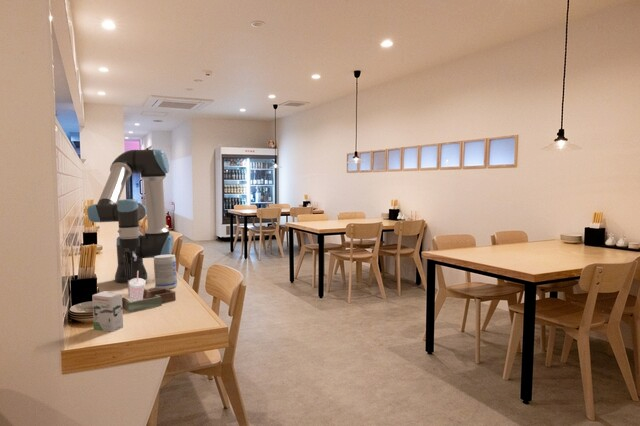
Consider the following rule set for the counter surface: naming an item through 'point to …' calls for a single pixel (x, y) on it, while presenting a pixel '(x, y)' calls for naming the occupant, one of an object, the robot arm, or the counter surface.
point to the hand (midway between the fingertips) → (132, 295)
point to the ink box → (107, 311)
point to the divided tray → (149, 300)
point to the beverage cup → (136, 288)
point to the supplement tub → (165, 271)
